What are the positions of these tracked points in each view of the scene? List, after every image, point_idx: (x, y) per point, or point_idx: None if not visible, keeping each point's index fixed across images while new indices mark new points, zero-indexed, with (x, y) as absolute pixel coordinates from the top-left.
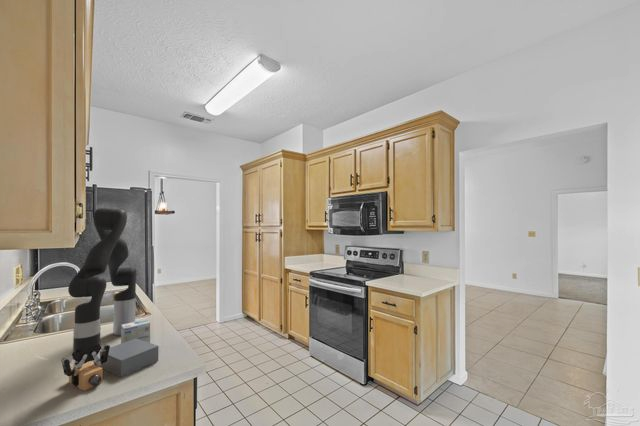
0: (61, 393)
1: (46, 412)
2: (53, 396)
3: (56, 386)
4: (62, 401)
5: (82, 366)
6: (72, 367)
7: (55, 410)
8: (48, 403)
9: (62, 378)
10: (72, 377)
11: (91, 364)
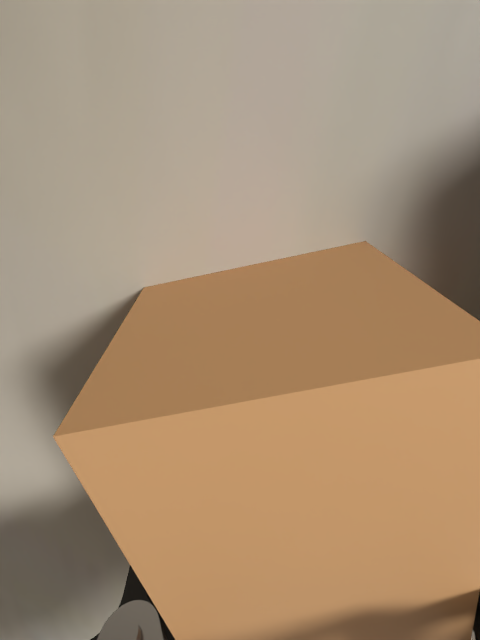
0: (80, 485)
1: (17, 628)
2: (21, 489)
3: (10, 298)
4: (95, 584)
5: (306, 548)
6: (127, 465)
7: (64, 636)
8: (5, 556)
9: (55, 40)
10: (139, 582)
11: (451, 572)
